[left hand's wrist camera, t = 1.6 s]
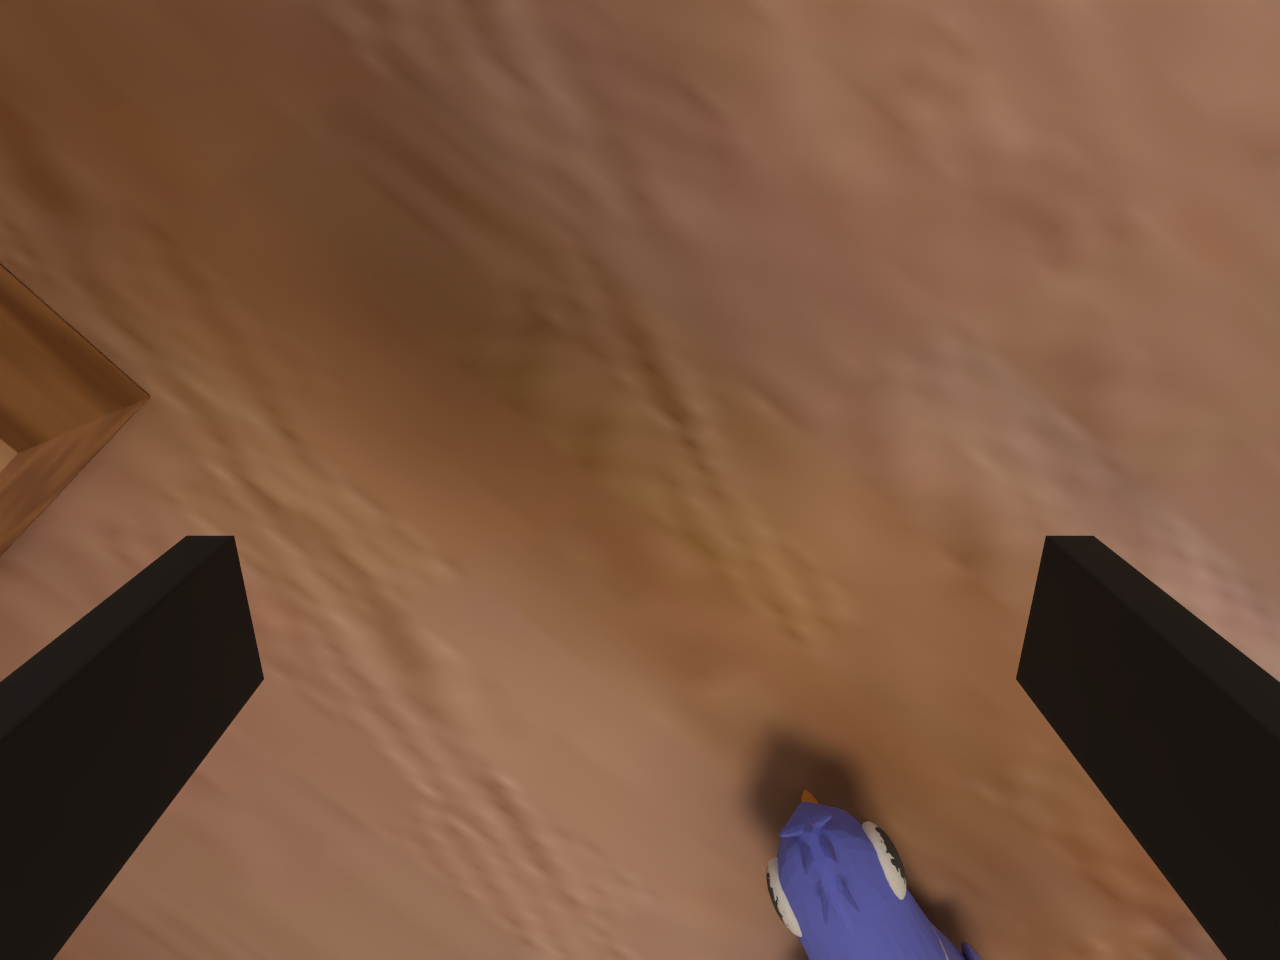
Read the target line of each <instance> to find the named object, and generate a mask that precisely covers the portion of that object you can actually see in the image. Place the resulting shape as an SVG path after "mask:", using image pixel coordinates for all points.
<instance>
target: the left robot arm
mask: <svg viewBox="0 0 1280 960" xmlns="http://www.w3.org/2000/svg"><path fill="white" fill-rule="evenodd" d="M263 680H264V677H263V672H262V667H261V662H260V658H259V653H258V648H257V643H256V639H255V634H254V629H253V624H252V619H251V615H250V610H249V605H248V600H247V596H246V591H245V586H244V581H243V576H242V572H241V567H240V562H239V557H238V552H237V548H236V543H235V538H234V536H186V537H185V538H183V539H182V540H181V541H179V542H178V543H177V544H176V545H174V546H173V547H172V548H171V549H169V550H168V551H167V552H165V553H164V554H163V555H162V556H160V557H159V558H158V559H157V560H155V561H154V562H153V563H151V564H150V565H149V566H148V567H146V568H145V569H144V570H143V571H141V572H140V573H139V574H137V575H136V576H135V577H134V578H132V579H131V580H130V581H129V582H127V583H126V584H125V585H123V586H122V587H121V588H120V589H118V590H117V591H116V592H115V593H113V594H112V595H111V596H109V597H108V598H107V599H106V600H104V601H103V602H102V603H101V604H99V605H98V606H97V607H95V608H94V609H93V610H92V611H90V612H89V613H88V614H87V615H85V616H84V617H83V618H81V619H80V620H79V621H78V622H76V623H75V624H74V625H73V626H71V627H70V628H69V629H67V630H66V631H65V632H64V633H62V634H61V635H60V636H59V637H57V638H56V639H55V640H53V641H52V642H51V643H50V644H48V645H47V646H46V647H45V648H43V649H42V650H41V651H39V652H38V653H37V654H36V655H34V656H33V657H32V658H31V659H29V660H28V661H27V662H26V663H24V664H23V665H22V666H20V667H19V668H18V669H17V670H15V671H14V672H13V673H12V674H10V675H9V676H8V677H6V678H5V679H4V680H3V681H1V682H0V960H53V959H54V957H55V956H56V955H57V953H58V952H59V951H60V949H61V948H62V947H63V945H64V944H65V943H66V941H67V940H68V939H69V937H70V936H71V935H72V933H73V932H74V931H75V929H76V928H77V927H78V925H79V924H80V923H81V921H82V920H83V919H84V917H85V916H86V915H87V913H88V912H89V911H90V909H91V908H92V907H93V905H94V904H95V903H96V901H97V900H98V899H99V897H100V896H101V895H102V893H103V892H104V891H105V890H106V888H107V887H108V886H109V884H110V883H111V882H112V880H113V879H114V878H115V876H116V875H117V874H118V872H119V871H120V870H121V868H122V867H123V866H124V864H125V863H126V862H127V860H128V859H129V858H130V856H131V855H132V854H133V852H134V851H135V850H136V848H137V847H138V846H139V844H140V843H141V842H142V840H143V839H144V838H145V836H146V835H147V834H148V832H149V831H150V830H151V828H152V827H153V826H154V824H155V823H156V822H157V820H158V819H159V818H160V816H161V815H162V814H163V812H164V811H165V810H166V808H167V807H168V806H169V804H170V803H171V802H172V800H173V799H174V798H175V797H176V795H177V794H178V793H179V791H180V790H181V789H182V787H183V786H184V785H185V783H186V782H187V781H188V779H189V778H190V777H191V775H192V774H193V773H194V771H195V770H196V769H197V767H198V766H199V765H200V763H201V762H202V761H203V759H204V758H205V757H206V755H207V754H208V753H209V751H210V750H211V749H212V747H213V746H214V745H215V743H216V742H217V741H218V739H219V738H220V737H221V735H222V734H223V733H224V731H225V730H226V729H227V727H228V726H229V725H230V723H231V722H232V721H233V719H234V718H235V717H236V715H237V714H238V713H239V711H240V710H241V709H242V708H243V706H244V705H245V704H246V702H247V701H248V700H249V698H250V697H251V696H252V694H253V693H254V692H255V690H256V689H257V688H258V686H259V685H260V684H261V682H262V681H263ZM1016 680H1017V681H1018V682H1019V684H1020V685H1021V686H1022V688H1023V689H1024V690H1025V692H1026V693H1027V694H1028V696H1029V697H1030V698H1031V700H1032V701H1033V702H1034V704H1035V705H1036V706H1037V708H1038V709H1039V710H1040V711H1041V713H1042V714H1043V715H1044V717H1045V718H1046V719H1047V721H1048V722H1049V723H1050V725H1051V726H1052V727H1053V729H1054V730H1055V731H1056V733H1057V734H1058V735H1059V737H1060V738H1061V739H1062V741H1063V742H1064V743H1065V745H1066V746H1067V747H1068V749H1069V750H1070V751H1071V753H1072V754H1073V755H1074V757H1075V758H1076V759H1077V761H1078V762H1079V763H1080V765H1081V766H1082V767H1083V769H1084V770H1085V771H1086V773H1087V774H1088V775H1089V777H1090V778H1091V779H1092V781H1093V782H1094V783H1095V785H1096V786H1097V787H1098V789H1099V790H1100V791H1101V793H1102V794H1103V795H1104V797H1105V798H1106V799H1107V800H1108V802H1109V803H1110V804H1111V806H1112V807H1113V808H1114V810H1115V811H1116V812H1117V814H1118V815H1119V816H1120V818H1121V819H1122V820H1123V822H1124V823H1125V824H1126V826H1127V827H1128V828H1129V830H1130V831H1131V832H1132V834H1133V835H1134V836H1135V838H1136V839H1137V840H1138V842H1139V843H1140V844H1141V846H1142V847H1143V848H1144V850H1145V851H1146V852H1147V854H1148V855H1149V856H1150V858H1151V859H1152V860H1153V862H1154V863H1155V864H1156V866H1157V867H1158V868H1159V870H1160V871H1161V872H1162V874H1163V875H1164V876H1165V878H1166V879H1167V880H1168V882H1169V883H1170V884H1171V886H1172V887H1173V888H1174V890H1175V891H1176V892H1177V893H1178V895H1179V896H1180V897H1181V899H1182V900H1183V901H1184V903H1185V904H1186V905H1187V907H1188V908H1189V909H1190V911H1191V912H1192V913H1193V915H1194V916H1195V917H1196V919H1197V920H1198V921H1199V923H1200V924H1201V925H1202V927H1203V928H1204V929H1205V931H1206V932H1207V933H1208V935H1209V936H1210V937H1211V939H1212V940H1213V941H1214V943H1215V944H1216V945H1217V947H1218V948H1219V949H1220V951H1221V952H1222V953H1223V955H1224V956H1225V957H1226V959H1227V960H1280V682H1279V681H1277V680H1276V679H1275V678H1274V677H1272V676H1271V675H1270V674H1268V673H1267V672H1266V671H1265V670H1263V669H1262V668H1261V667H1260V666H1258V665H1257V664H1256V663H1254V662H1253V661H1252V660H1251V659H1249V658H1248V657H1247V656H1246V655H1244V654H1243V653H1242V652H1241V651H1239V650H1238V649H1237V648H1235V647H1234V646H1233V645H1232V644H1230V643H1229V642H1228V641H1227V640H1225V639H1224V638H1223V637H1221V636H1220V635H1219V634H1218V633H1216V632H1215V631H1214V630H1213V629H1211V628H1210V627H1209V626H1207V625H1206V624H1205V623H1204V622H1202V621H1201V620H1200V619H1199V618H1197V617H1196V616H1195V615H1193V614H1192V613H1191V612H1190V611H1188V610H1187V609H1186V608H1185V607H1183V606H1182V605H1181V604H1179V603H1178V602H1177V601H1176V600H1174V599H1173V598H1172V597H1171V596H1169V595H1168V594H1167V593H1165V592H1164V591H1163V590H1162V589H1160V588H1159V587H1158V586H1157V585H1155V584H1154V583H1153V582H1151V581H1150V580H1149V579H1148V578H1146V577H1145V576H1144V575H1143V574H1141V573H1140V572H1139V571H1137V570H1136V569H1135V568H1134V567H1132V566H1131V565H1130V564H1129V563H1127V562H1126V561H1125V560H1123V559H1122V558H1121V557H1120V556H1118V555H1117V554H1116V553H1115V552H1113V551H1112V550H1111V549H1109V548H1108V547H1107V546H1106V545H1104V544H1103V543H1102V542H1101V541H1099V540H1098V539H1097V538H1095V537H1094V536H1046V538H1045V543H1044V548H1043V552H1042V557H1041V562H1040V567H1039V572H1038V576H1037V581H1036V586H1035V591H1034V596H1033V600H1032V605H1031V610H1030V615H1029V619H1028V624H1027V629H1026V634H1025V639H1024V643H1023V648H1022V653H1021V658H1020V662H1019V667H1018V672H1017V677H1016Z"/></svg>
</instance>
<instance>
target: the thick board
mask: <svg viewBox="0 0 1280 960" xmlns="http://www.w3.org/2000/svg"><path fill="white" fill-rule="evenodd" d="M148 398H149V396H148V395H147V394H146V393H145V392H144V391H143V390H142V389H140V388H139V387H138V386H137V385H136V384H135V383H134V382H133V381H131V380H130V379H129V378H128V377H127V376H126V375H125V374H123V373H122V372H121V371H120V370H119V369H118V368H117V367H116V366H114V365H113V364H112V363H111V362H110V361H109V360H108V359H106V358H105V357H104V356H103V355H102V354H101V353H100V352H99V351H97V350H96V349H95V348H94V347H93V346H92V345H91V344H89V343H88V342H87V341H86V340H85V339H84V338H83V337H82V336H80V335H79V334H78V333H77V332H76V331H75V330H74V329H72V328H71V327H70V326H69V325H68V324H67V323H66V322H65V321H63V320H62V319H61V318H60V317H59V316H58V315H57V314H55V313H54V312H53V311H52V310H51V309H50V308H49V307H48V306H46V305H45V304H44V303H43V302H42V301H41V300H40V299H38V298H37V297H36V296H35V295H34V294H33V293H32V292H31V291H29V290H28V289H27V288H26V287H25V286H24V285H23V284H21V283H20V282H19V281H18V280H17V279H16V278H15V277H14V276H12V275H11V274H10V273H9V272H8V271H7V270H6V269H4V268H3V267H2V266H1V265H0V556H1V555H2V554H3V553H4V552H5V551H6V549H7V548H8V547H9V546H10V545H11V544H12V543H13V542H14V541H15V540H16V539H17V538H18V537H19V536H20V535H21V533H22V532H23V531H24V530H25V529H26V528H27V527H28V526H29V525H30V524H31V523H32V522H33V521H34V520H35V519H36V517H37V516H38V515H39V514H40V513H41V512H42V511H43V510H44V509H45V508H46V507H47V506H48V505H49V504H50V503H51V501H52V500H53V499H54V498H55V497H56V496H57V495H58V494H59V493H60V492H61V491H62V490H63V489H64V488H65V487H66V486H67V484H68V483H69V482H70V481H71V480H72V479H73V478H74V477H75V476H76V475H77V474H78V473H79V472H80V471H81V470H82V468H83V467H84V466H85V465H86V464H87V463H88V462H89V461H90V460H91V459H92V458H93V457H94V456H95V455H96V454H97V452H98V451H99V450H100V449H101V448H102V447H103V446H104V445H105V444H106V443H107V442H108V441H109V440H110V439H111V438H112V436H113V435H114V434H115V433H116V432H117V431H118V430H119V429H120V428H121V427H122V426H123V425H124V424H125V423H126V422H127V421H128V419H129V418H130V417H131V416H132V415H133V414H134V413H135V412H136V411H137V410H138V409H139V408H140V407H141V406H142V405H143V403H144V402H145V401H146V400H147V399H148Z"/></svg>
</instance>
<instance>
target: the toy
mask: <svg viewBox="0 0 1280 960" xmlns="http://www.w3.org/2000/svg"><path fill="white" fill-rule="evenodd" d="M801 801H802V803H801V804H799V805H798V806H797V808H796V810H795V811H794V813H793V814H792V816H791V817H790V819H789V820H788V822H787V823H786V825H785V827H784V828H783V829H782V830H781V831H780V833H779V836H780V837H781V839H780V845H779V851H778V857H773V858H771V859H770V861H769V863H768V866H767V877H766V878H767V885H768V891H769V894H770V897H771V900H772V903H773V905H774V907H775V910H776V912H777V914H778V915H779V917H780V918H781V920H782V921H783V923H784V924H785V925H786V927H787V928H788V929H789V930H790V931H791V932H792V933H794V934H795V935H797V936H798V938H799V940H800V942H801V944H802V946H803V948H804V950H805V952H806V954H807V956H808V959H809V960H982V958H981V957H980V955H979V954H978V953H977V951H975V950H974V949H973V948H972V947H971V946H970V945H969V944H968V943H962V944H961V945H962V952H963V954H962V953H961V952H960V951H959V950H958V949H957V948H956V947H955V945H954V944H953V943H952V942H951V941H950V940H949V939H948V938H947V937H946V936H945V935H944V934H943V933H942V932H940V931H939V930H938V929H937V928H936V927H935V926H934V925H933V924H932V923H931V922H930V921H929V920H928V919H927V917H926V916H925V914H924V913H923V911H922V910H921V908H920V907H919V905H918V904H917V902H916V901H915V899H914V898H913V897H912V895H911V894H910V892H909V891H908V889H907V887H906V877H905V872H904V868H903V865H902V862H901V859H900V857H899V854H898V852H897V850H896V848H895V846H894V844H893V843H892V842H891V840H890V839H889V837H888V836H887V834H886V833H885V832H884V831H883V830H882V829H881V828H880V827H878V826H877V825H876V824H874V823H872V822H864V823H863V824H861V823H860V822H859V821H858V820H857V819H856V818H854V817H853V816H851V815H850V814H848V813H847V812H846V811H844V810H843V809H840V808H837V807H833V806H828V805H823V804H819V803H818V802H817V800H816V799H815V797H814V796H813V795H812V794H811V793H810V792H808V791H807V790H803V793H802V797H801Z"/></svg>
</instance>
